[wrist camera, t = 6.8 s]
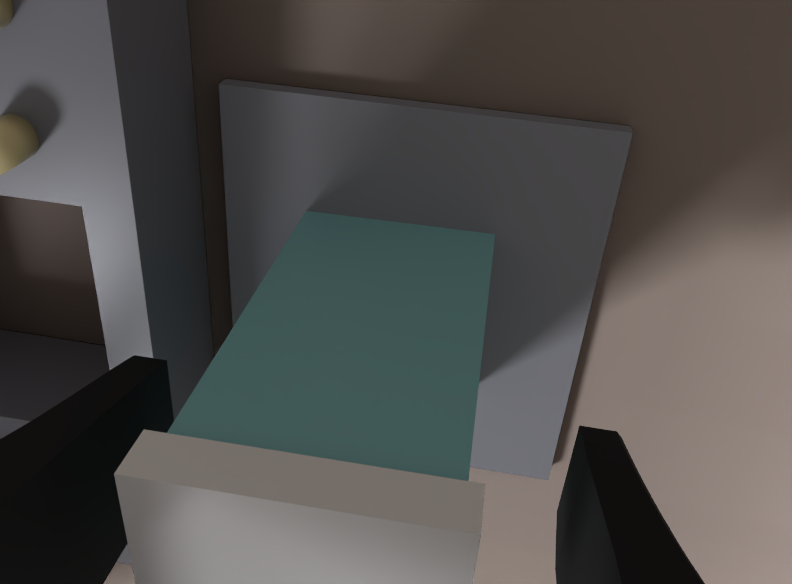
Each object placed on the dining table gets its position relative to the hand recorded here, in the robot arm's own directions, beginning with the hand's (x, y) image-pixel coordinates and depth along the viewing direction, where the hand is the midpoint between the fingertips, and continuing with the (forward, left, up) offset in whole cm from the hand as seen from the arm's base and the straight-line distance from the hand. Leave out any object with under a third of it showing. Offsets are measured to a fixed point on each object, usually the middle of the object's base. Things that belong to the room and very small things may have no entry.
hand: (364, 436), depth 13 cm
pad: (0, 0, -5) cm, 5 cm away
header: (0, +8, -5) cm, 10 cm away
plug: (0, 0, -4) cm, 4 cm away
